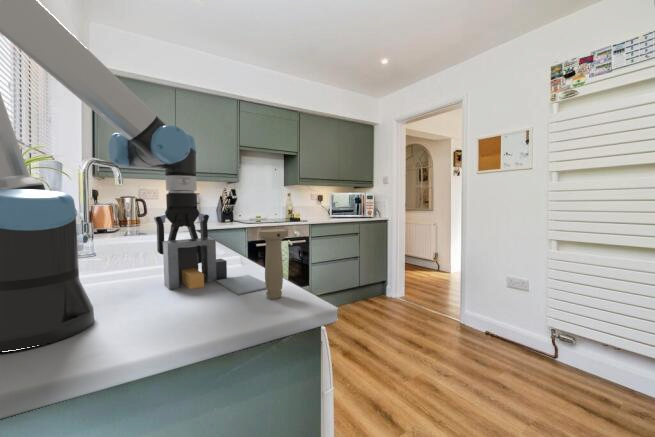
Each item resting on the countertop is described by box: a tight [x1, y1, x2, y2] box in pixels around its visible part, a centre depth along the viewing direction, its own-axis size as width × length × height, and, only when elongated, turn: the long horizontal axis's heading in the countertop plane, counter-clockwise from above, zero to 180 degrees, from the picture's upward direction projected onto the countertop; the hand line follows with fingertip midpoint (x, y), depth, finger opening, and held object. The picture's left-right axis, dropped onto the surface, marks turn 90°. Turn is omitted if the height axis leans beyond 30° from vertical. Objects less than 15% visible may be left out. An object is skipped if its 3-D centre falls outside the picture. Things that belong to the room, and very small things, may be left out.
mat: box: [215, 274, 266, 296], centre depth 77 cm, size 9×14×1 cm, turn 40°
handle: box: [258, 228, 289, 300], centre depth 67 cm, size 5×6×15 cm
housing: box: [162, 237, 228, 291], centre depth 79 cm, size 14×5×11 cm, turn 130°
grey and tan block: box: [178, 246, 205, 290], centre depth 79 cm, size 15×5×9 cm, turn 39°
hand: (184, 276), depth 83 cm, fingers closed on grey and tan block, 5 cm apart
